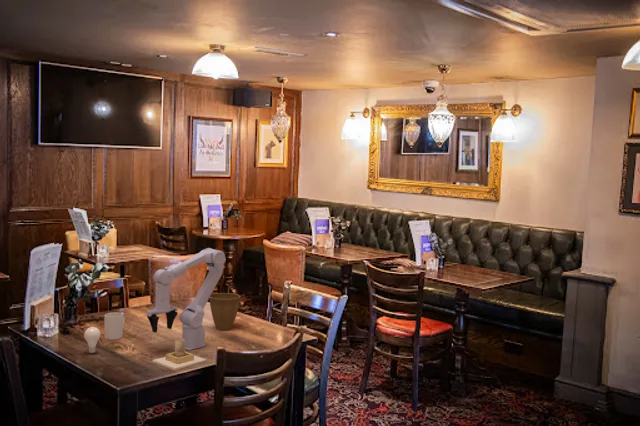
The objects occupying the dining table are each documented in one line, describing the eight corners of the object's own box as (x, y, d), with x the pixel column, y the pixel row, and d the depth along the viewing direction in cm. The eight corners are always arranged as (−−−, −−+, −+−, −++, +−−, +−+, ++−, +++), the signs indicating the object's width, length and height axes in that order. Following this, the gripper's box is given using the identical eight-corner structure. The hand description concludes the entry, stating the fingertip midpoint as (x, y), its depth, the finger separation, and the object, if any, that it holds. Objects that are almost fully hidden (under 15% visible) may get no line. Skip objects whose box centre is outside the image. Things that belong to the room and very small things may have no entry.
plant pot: (242, 331, 310) (243, 298, 309) (212, 333, 305) (212, 299, 304) (235, 323, 324) (236, 291, 323) (205, 325, 319) (206, 293, 317)
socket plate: (184, 353, 273) (184, 346, 272) (206, 361, 264) (206, 354, 263) (152, 362, 260) (152, 354, 260) (174, 370, 251) (174, 362, 251)
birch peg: (179, 357, 265) (179, 338, 264) (186, 359, 263) (187, 340, 262) (172, 360, 261) (172, 340, 260) (180, 362, 259) (180, 342, 258)
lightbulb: (81, 352, 268) (81, 326, 267) (96, 350, 273) (96, 324, 272) (88, 356, 264) (88, 330, 263) (103, 353, 268) (103, 327, 267)
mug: (116, 340, 287) (116, 317, 286) (100, 338, 289) (101, 315, 288) (131, 333, 299) (131, 311, 298) (116, 331, 301) (116, 309, 300)
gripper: (170, 294, 280) (169, 325, 281) (142, 299, 268) (141, 331, 269) (181, 297, 275) (180, 328, 276) (153, 302, 264) (152, 335, 265)
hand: (162, 330), depth 273 cm, fingers open, 7 cm apart
